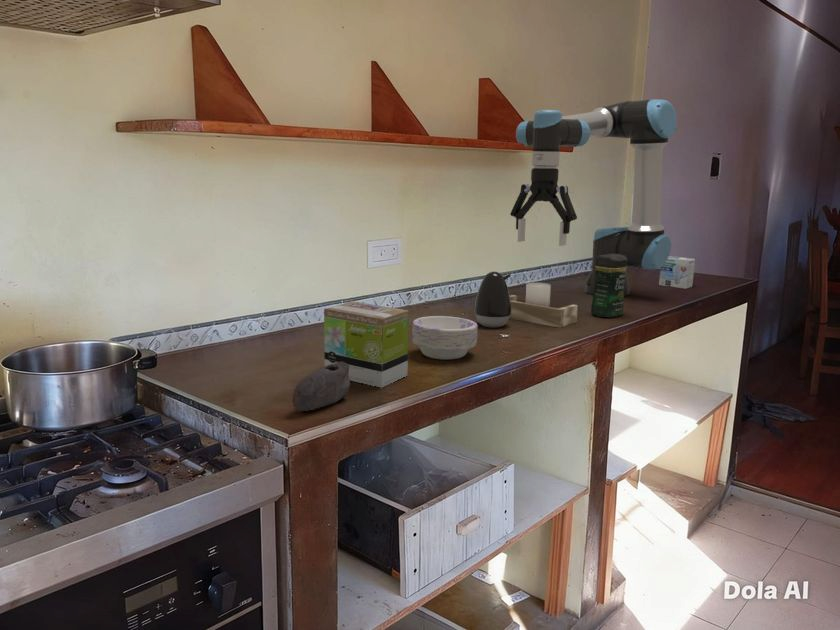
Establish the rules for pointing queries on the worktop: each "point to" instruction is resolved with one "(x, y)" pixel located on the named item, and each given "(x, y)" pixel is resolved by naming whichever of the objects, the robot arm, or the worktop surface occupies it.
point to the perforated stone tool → (322, 387)
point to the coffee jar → (609, 285)
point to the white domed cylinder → (538, 294)
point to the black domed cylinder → (493, 301)
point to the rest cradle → (543, 313)
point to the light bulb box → (677, 272)
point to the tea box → (367, 341)
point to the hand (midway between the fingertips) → (541, 243)
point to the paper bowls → (444, 336)
